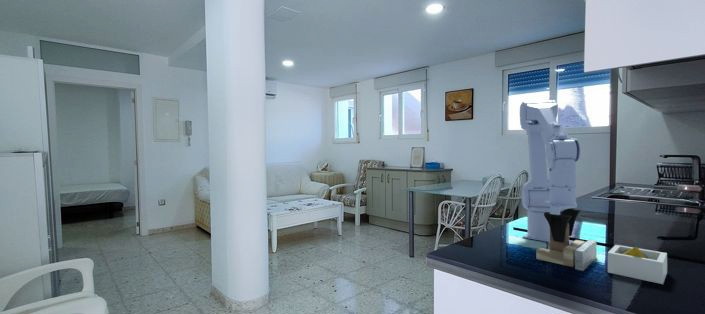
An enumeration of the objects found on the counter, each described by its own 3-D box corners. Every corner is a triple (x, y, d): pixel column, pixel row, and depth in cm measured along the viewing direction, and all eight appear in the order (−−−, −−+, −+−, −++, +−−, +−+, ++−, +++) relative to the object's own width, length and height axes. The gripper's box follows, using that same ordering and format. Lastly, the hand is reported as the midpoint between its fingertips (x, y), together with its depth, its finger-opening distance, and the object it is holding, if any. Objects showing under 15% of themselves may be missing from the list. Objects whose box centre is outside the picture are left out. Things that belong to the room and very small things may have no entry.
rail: (589, 256, 82) (589, 239, 82) (596, 258, 81) (596, 240, 81) (575, 269, 74) (575, 250, 74) (582, 270, 73) (582, 251, 73)
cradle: (550, 249, 88) (550, 235, 88) (585, 256, 82) (585, 241, 82) (536, 258, 81) (536, 243, 81) (573, 267, 75) (573, 250, 75)
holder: (615, 262, 77) (615, 244, 77) (667, 272, 71) (667, 253, 71) (607, 272, 72) (607, 252, 72) (663, 284, 65) (662, 262, 65)
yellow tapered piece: (655, 274, 71) (660, 252, 66) (630, 282, 72) (633, 261, 67) (635, 254, 76) (638, 232, 70) (612, 262, 77) (614, 241, 71)
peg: (553, 254, 84) (553, 221, 84) (569, 257, 82) (569, 223, 82) (550, 258, 82) (549, 223, 82) (566, 261, 79) (565, 225, 79)
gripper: (552, 182, 89) (552, 230, 89) (536, 187, 79) (536, 241, 79) (582, 184, 84) (583, 234, 84) (569, 189, 74) (569, 247, 74)
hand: (562, 238), depth 81 cm, fingers open, 7 cm apart
